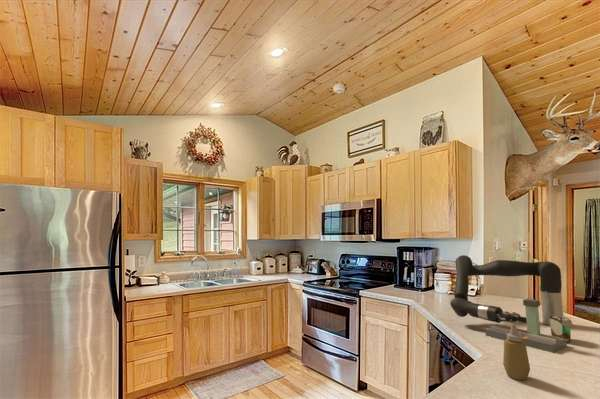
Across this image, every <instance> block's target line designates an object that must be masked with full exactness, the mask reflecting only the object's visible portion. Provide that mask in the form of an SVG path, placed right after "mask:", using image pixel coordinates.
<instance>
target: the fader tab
mask: <svg viewBox="0 0 600 399" xmlns="http://www.w3.org/2000/svg"><path fill="white" fill-rule="evenodd" d="M522 304H523V306H524V307H525V317H526V321H527V323H526V330H527V333H529V334H533V335H538V336H540V333H541V326H540V324H541V323H540V312H539V307H540V306H541V302H540V300H539V299H531V298H525V299H522Z"/></svg>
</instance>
